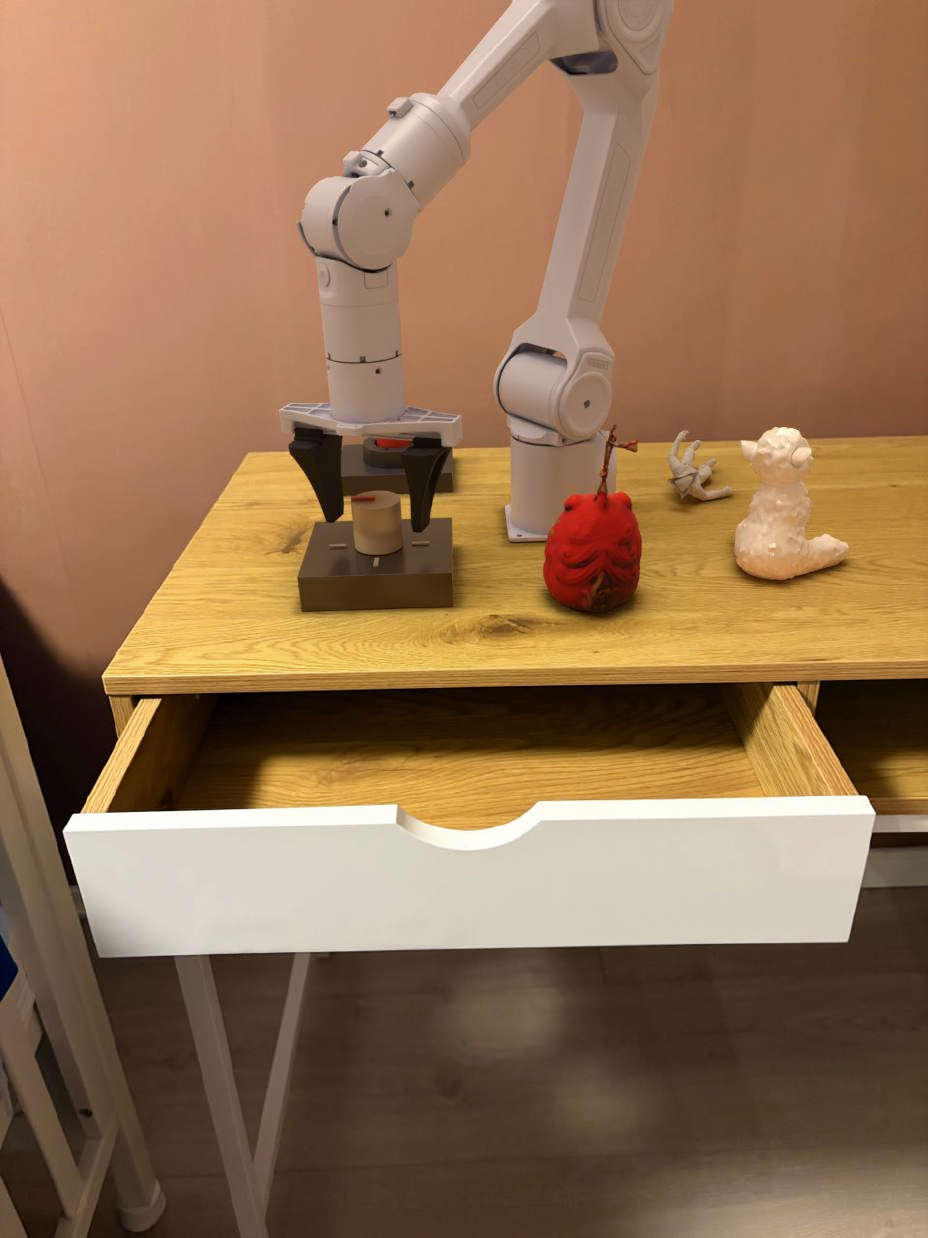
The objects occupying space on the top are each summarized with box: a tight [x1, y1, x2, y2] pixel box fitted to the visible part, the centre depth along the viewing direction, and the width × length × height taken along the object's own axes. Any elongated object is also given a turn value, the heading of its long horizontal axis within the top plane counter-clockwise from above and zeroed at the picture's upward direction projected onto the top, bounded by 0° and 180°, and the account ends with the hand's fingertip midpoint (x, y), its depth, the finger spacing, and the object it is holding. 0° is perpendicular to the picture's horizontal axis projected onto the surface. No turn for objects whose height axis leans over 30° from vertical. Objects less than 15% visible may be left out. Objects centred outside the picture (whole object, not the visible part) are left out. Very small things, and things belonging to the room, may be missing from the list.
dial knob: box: [350, 491, 403, 555], centre depth 76 cm, size 4×4×4 cm
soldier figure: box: [666, 430, 735, 502], centre depth 93 cm, size 8×5×12 cm
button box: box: [341, 437, 454, 497], centre depth 99 cm, size 12×10×4 cm
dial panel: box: [296, 517, 454, 612], centre depth 78 cm, size 12×11×3 cm
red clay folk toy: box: [542, 423, 643, 613], centre depth 71 cm, size 8×7×15 cm
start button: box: [377, 438, 412, 448], centre depth 98 cm, size 4×4×2 cm
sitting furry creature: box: [733, 426, 850, 581], centre depth 76 cm, size 10×9×12 cm
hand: (377, 523), depth 77 cm, fingers open, 7 cm apart
